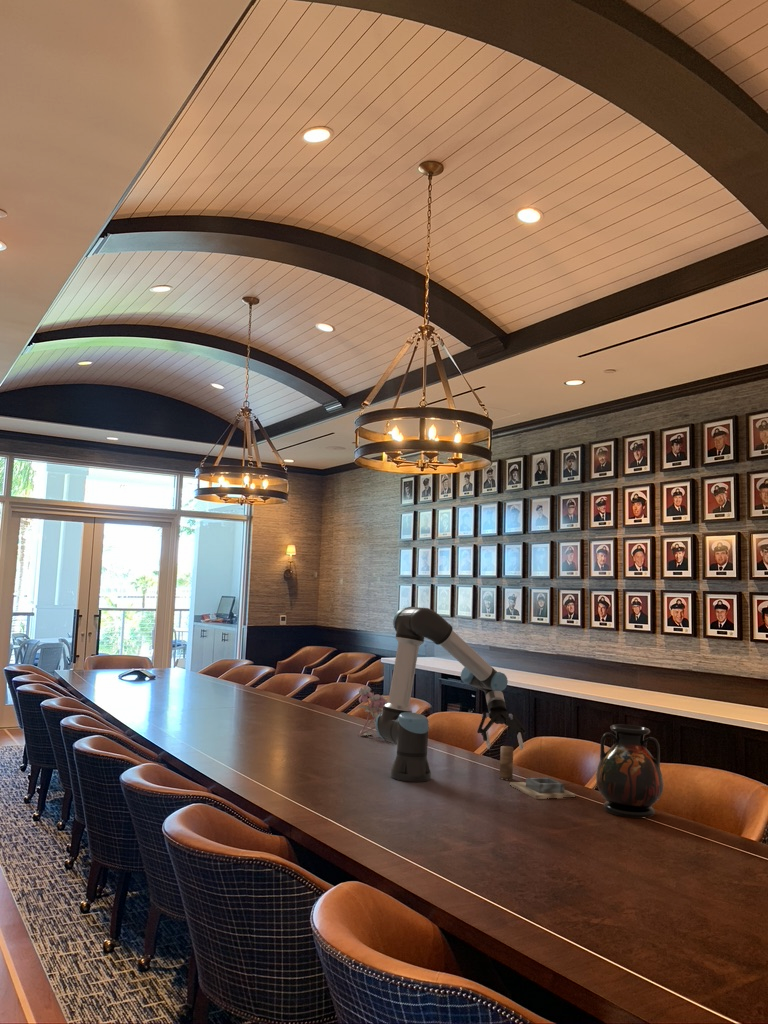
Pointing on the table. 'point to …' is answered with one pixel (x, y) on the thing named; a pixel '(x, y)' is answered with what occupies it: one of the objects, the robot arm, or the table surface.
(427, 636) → the robot arm
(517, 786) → the maple board
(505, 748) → the walnut peg
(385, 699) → the flower
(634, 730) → the amphora vase
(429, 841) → the table surface
